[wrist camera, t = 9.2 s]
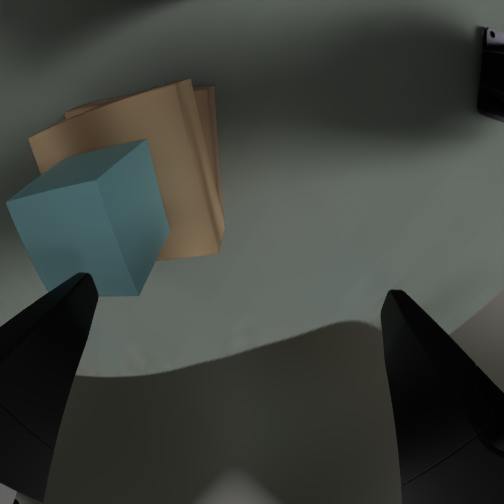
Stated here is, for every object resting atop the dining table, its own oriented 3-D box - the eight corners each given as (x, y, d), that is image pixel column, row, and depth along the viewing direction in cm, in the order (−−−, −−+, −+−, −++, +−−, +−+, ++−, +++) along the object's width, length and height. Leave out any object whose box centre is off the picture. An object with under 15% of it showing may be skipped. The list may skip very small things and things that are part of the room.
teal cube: (147, 138, 13) (96, 180, 9) (170, 230, 16) (139, 295, 12) (64, 158, 14) (5, 202, 10) (92, 238, 17) (50, 296, 13)
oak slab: (190, 78, 14) (174, 84, 12) (225, 225, 20) (218, 253, 17) (56, 123, 16) (27, 138, 13) (102, 242, 21) (84, 269, 18)
